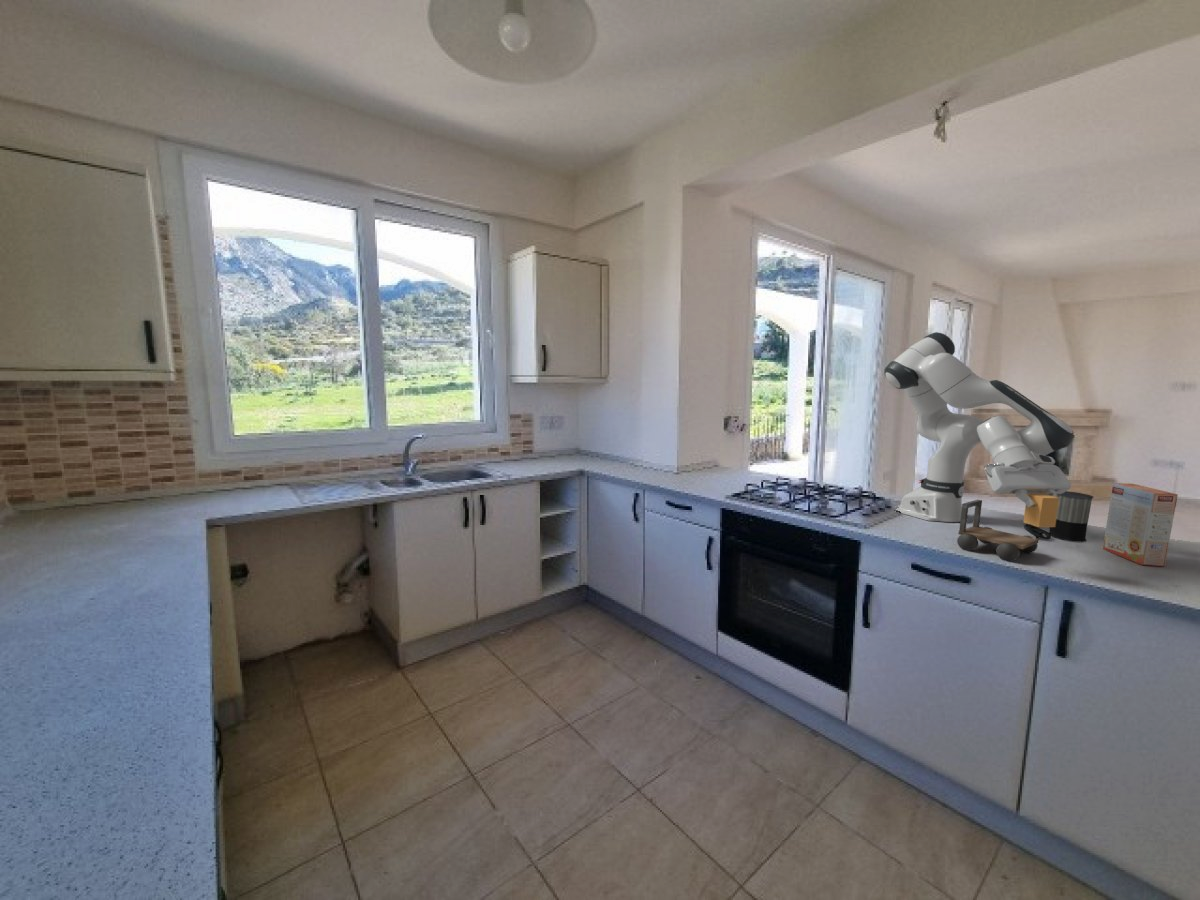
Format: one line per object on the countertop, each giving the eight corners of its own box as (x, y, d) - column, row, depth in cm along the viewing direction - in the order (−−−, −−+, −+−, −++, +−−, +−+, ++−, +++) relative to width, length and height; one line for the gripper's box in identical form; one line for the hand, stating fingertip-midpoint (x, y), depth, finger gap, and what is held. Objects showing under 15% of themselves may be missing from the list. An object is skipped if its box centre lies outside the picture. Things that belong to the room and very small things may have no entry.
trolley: (954, 547, 152) (959, 504, 150) (975, 539, 160) (980, 498, 158) (1018, 564, 139) (1024, 517, 137) (1038, 555, 146) (1044, 510, 144)
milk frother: (1090, 539, 161) (1097, 494, 159) (1076, 548, 152) (1083, 501, 150) (1034, 528, 172) (1040, 486, 170) (1018, 536, 163) (1024, 492, 161)
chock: (1023, 522, 137) (1027, 494, 136) (1039, 522, 137) (1043, 493, 136) (1038, 527, 132) (1042, 498, 131) (1055, 527, 132) (1059, 498, 131)
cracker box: (1166, 567, 137) (1180, 493, 134) (1140, 565, 138) (1153, 492, 135) (1124, 550, 150) (1135, 483, 147) (1101, 548, 152) (1111, 482, 148)
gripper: (988, 457, 138) (1015, 500, 130) (1058, 457, 140) (1088, 499, 131) (974, 470, 144) (998, 512, 135) (1041, 470, 145) (1069, 511, 136)
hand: (1043, 506), depth 133 cm, fingers closed on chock, 5 cm apart
